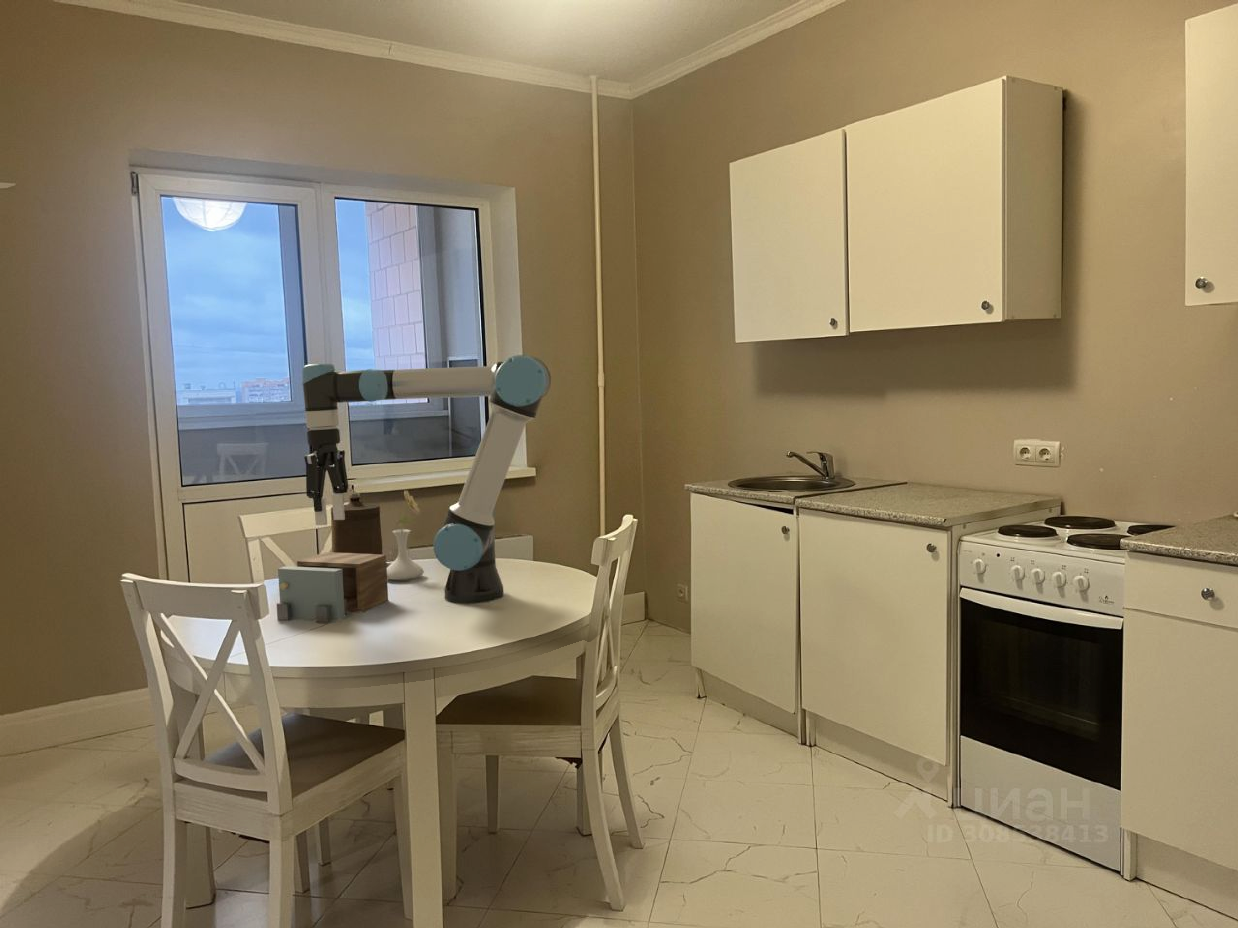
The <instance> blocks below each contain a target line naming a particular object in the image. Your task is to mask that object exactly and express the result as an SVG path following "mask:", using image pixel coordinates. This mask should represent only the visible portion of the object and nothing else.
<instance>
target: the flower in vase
mask: <svg viewBox="0 0 1238 928" xmlns="http://www.w3.org/2000/svg"><path fill="white" fill-rule="evenodd" d="M403 494H404V498H405V500H406V502H407V505H406V507H405V509H404V511H403V513H402V519H399V520H398V521H397V524H396V526H398V527H401V528H400V529H395V530H392V534H393V535H395V539H396V542H397V546H398V548H397V549H398V552H397V553H398V554H397V557H396V558H395V559H394V560H393V562H392V563H391V564H389V566H388V567H387V580H393V581H406V580H413V579H417V578H419V577H421V576H423V574H424V573H425V571H424V569H423V567H422V566H421V565H419V564H418V563H417V562H415V561H414V560H413V559H412V558H410V557H409V556H408V552H407V551H408V550H407V541H408V536H409V535H410V533H411V529H404V528H403V527H404V525H405V524H406V525H410V519H409V518H408V517H407V516H405V513H406V511H407V509H408V507H409V508H410V509H411V510H412V512H413V513H415V514H416V515H420V512H421V510H420V509H419V507H418V506H419V505H418V503H417V502H415V500H414V497H413V495H410V493H409V490H404V492H403Z"/></svg>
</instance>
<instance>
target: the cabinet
mask: <svg viewBox="0 0 1238 928" xmlns="http://www.w3.org/2000/svg"><path fill="white" fill-rule="evenodd" d="M296 567H313V568H333V569H342V573H343V592H344V599H347V612H351V613H352V612H353V613H363V612H366V611H368V610H370V609H372V608H375V607H377V606H379V605H382V604H383V603H384V604H385V603H386V602H388V601H389V591H388V590H389V589H388V578H387V555H386V554H383V555H381V554H358V553H335V552H332V551H331V552H329V551H326V552H321V553H318V554H316V555H312V556H309V557H306V558H302V559H299V560H297V561H296Z"/></svg>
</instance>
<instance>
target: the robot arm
mask: <svg viewBox="0 0 1238 928" xmlns="http://www.w3.org/2000/svg"><path fill="white" fill-rule="evenodd" d="M301 384H302V391H303V399H304V411H305V421H306V427H307V428H308V430H307V431H306V437H307V438H306V439H307V445H308V446H311V447H312V449H311V453H310V454H306V455H304V456H303V459H304V463H305V484H306V485H305V486H306V487H305V488H306V489H305V491H306V494H305V495H306V497H308V498H309V499H312V501H313V511H314V518H315V519H314V520H315V526H328V517H327V516H328V515H327V513H328V512H327V504H326V502H327V501H326V497H323V496H324V489H325V481H326V476H327V475H328V478H329V481H330V484H331V487H332V491H333V493H331V502H332V507H333V517H334V520H345V513H344V505H345V502H344V501H345V499H344V494H345V493H346V494H347V493H348V490H349V480H348V473H347V468H346V467H347V466H346V460H345V457H346V452H345V451H346V450H342V449H338V447H337V444H340V442H341V435H340V429H339V428H337V427H338V426H340V422H339V421H340V420H339V410H338V403H339V404H340V403H341V404H342V403H362V402H363V403H365V402H369V403H372V402H377V401H387V400H388V401H389V400H408V399H409V400H411V399H413V400H414V399H439V398H440V399H442V398H443V399H445V398H446V399H447V398H474V397H475V398H478V397H489V399H488V403H489V406H490V408H491V413H490V415H489V417H488V418H489V419H488V422H487V423H486V427H485V428H484V431H483V432H484V433H483V434H482V436H481V440H480V443H479V445H478V448H477V451H476V452H475V455H474V456H475V457H474V458H473V461H472V464H471V466H470V469H469V472H468V475H467V477H466V480H465V482H464V485H463V488H462V491H461V493H460V496H459V499H458V501H457V503H454V504H452V505H450V506H449V507H448V511H447V512H446V516H445V518H444V520H443V523H442V526H441V528H440V529H438V530H437V533H436V534H435V537H434V541H433V552H434V554H435V558H436V559H437V560H438V562H439V563H440V565H441V564H442V565H443V566H444V567H446V569H449V572H448V576H447V580H446V583H445V587H444V599H445V600H446V601H448V602H452V603H460V604H473V603H475V604H476V603H486V602H490V601H494V600H499V599H500V598H502V597H503V596H504V595H503V594H504V584H503V582H502V579H501V577H500V576H501V575H500V574H499V572H498V571H499V570H498V569H497V565H496V564H497V563H496V542H495V539H496V536H495V524H496V519H495V517H494V516H495V514H494V508H495V506H496V504H497V501H498V498H499V496H500V493H501V490H502V488H503V486H504V482H505V480H506V477H507V474H508V472H509V469H510V467H511V464H512V461H513V458H514V455H515V453H516V451H517V448H518V444H519V442H520V440H521V437H522V434H523V432H524V430H525V426H526V424H527V423H529V422H531V421H533V420H535V418H536V416H537V412H538V411H539V407H540V405H541V402H542V400H543V398H544V397H545V396H546V395H547V394H548V391H550V388H551V384H552V376H551V372H550V370H549V368H548V367H547V365H546V364H545V363H544V362H543V361H542V360H540V359H539V358H537V357H534V356H530V355H529V356H528V355H525V354H519V355H518V354H517V355H514V356H511V357H508V358H507V359H505V361H496V363H494V364H493V365H486V366H460V367H435V368H434V367H433V368H411V369H410V368H409V369H407V368H406V369H405V368H404V369H403V368H402V369H372V368H371V369H370V368H369V369H361V370H359V369H357V370H345V371H341V370H340V371H336V369H335V365H334V364H332V363H320V364H319V363H318V364H315V363H314V364H306V365H304V367H302V382H301ZM326 473H327V475H326Z"/></svg>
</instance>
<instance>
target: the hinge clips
mask: <svg viewBox="0 0 1238 928" xmlns="http://www.w3.org/2000/svg"><path fill="white" fill-rule="evenodd" d="M344 610H345V617H346V616H348V611H347V599H344ZM276 616H277V619H278V620H277V621H287V620H288V621H290V620H293V618H292V610H291V603H288V602H280V601H279V602H277V603H276ZM315 621H316V623H317V624H330V623H331V622H332V621H331V610H330V605H317V606H316V620H315ZM329 622H330V623H329Z"/></svg>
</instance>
